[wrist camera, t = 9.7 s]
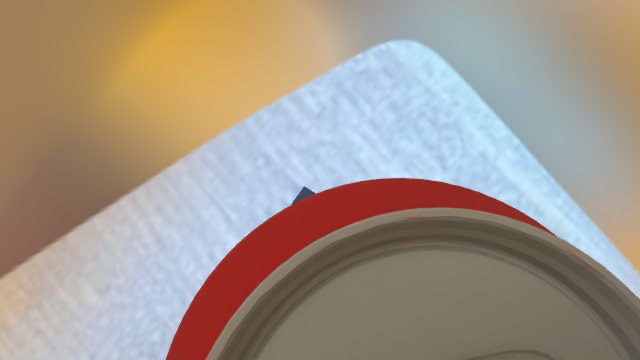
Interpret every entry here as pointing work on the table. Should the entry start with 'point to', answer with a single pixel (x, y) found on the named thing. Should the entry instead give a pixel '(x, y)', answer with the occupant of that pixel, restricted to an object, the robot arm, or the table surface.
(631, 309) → the beverage can
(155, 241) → the table surface
